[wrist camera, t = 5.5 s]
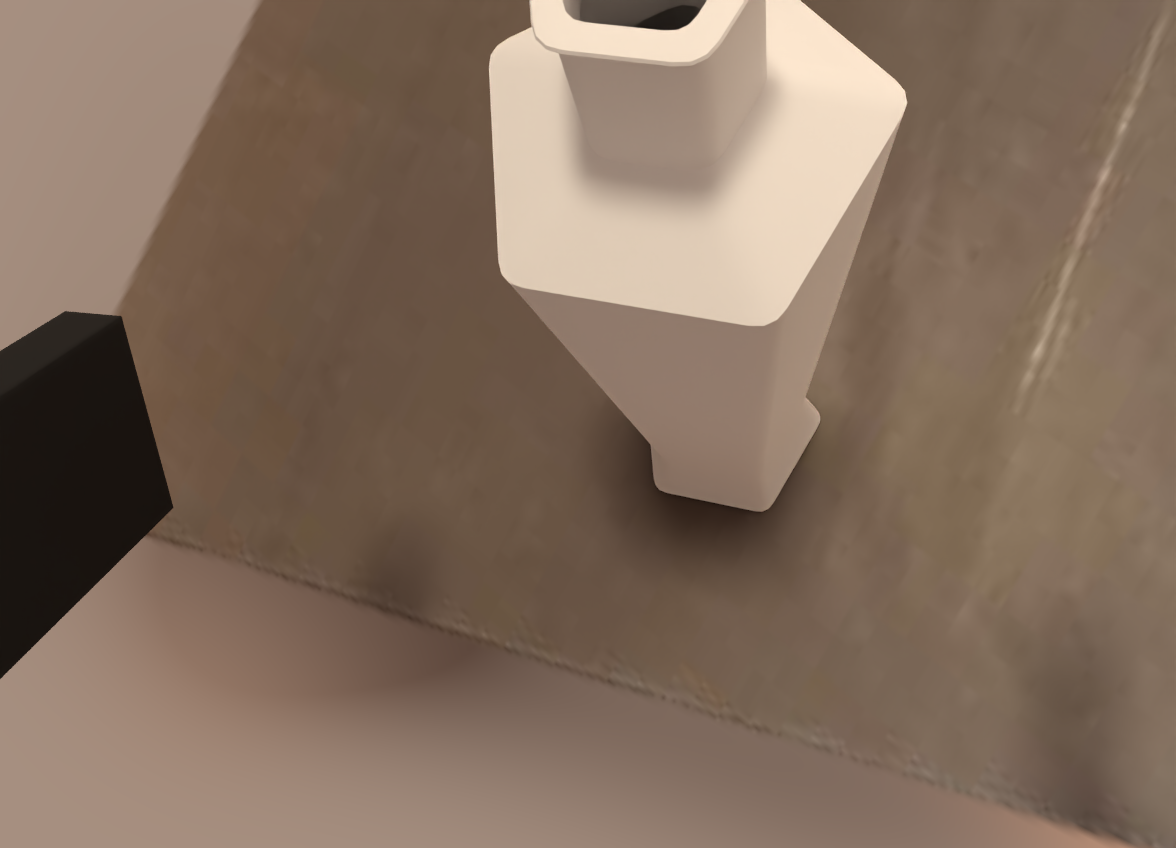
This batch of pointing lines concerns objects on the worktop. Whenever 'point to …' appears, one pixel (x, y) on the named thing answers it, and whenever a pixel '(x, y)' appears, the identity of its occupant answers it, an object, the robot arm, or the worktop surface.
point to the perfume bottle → (690, 214)
